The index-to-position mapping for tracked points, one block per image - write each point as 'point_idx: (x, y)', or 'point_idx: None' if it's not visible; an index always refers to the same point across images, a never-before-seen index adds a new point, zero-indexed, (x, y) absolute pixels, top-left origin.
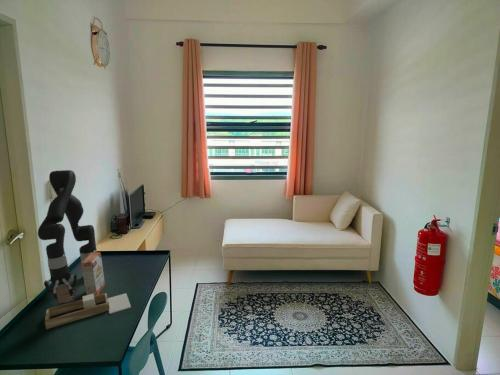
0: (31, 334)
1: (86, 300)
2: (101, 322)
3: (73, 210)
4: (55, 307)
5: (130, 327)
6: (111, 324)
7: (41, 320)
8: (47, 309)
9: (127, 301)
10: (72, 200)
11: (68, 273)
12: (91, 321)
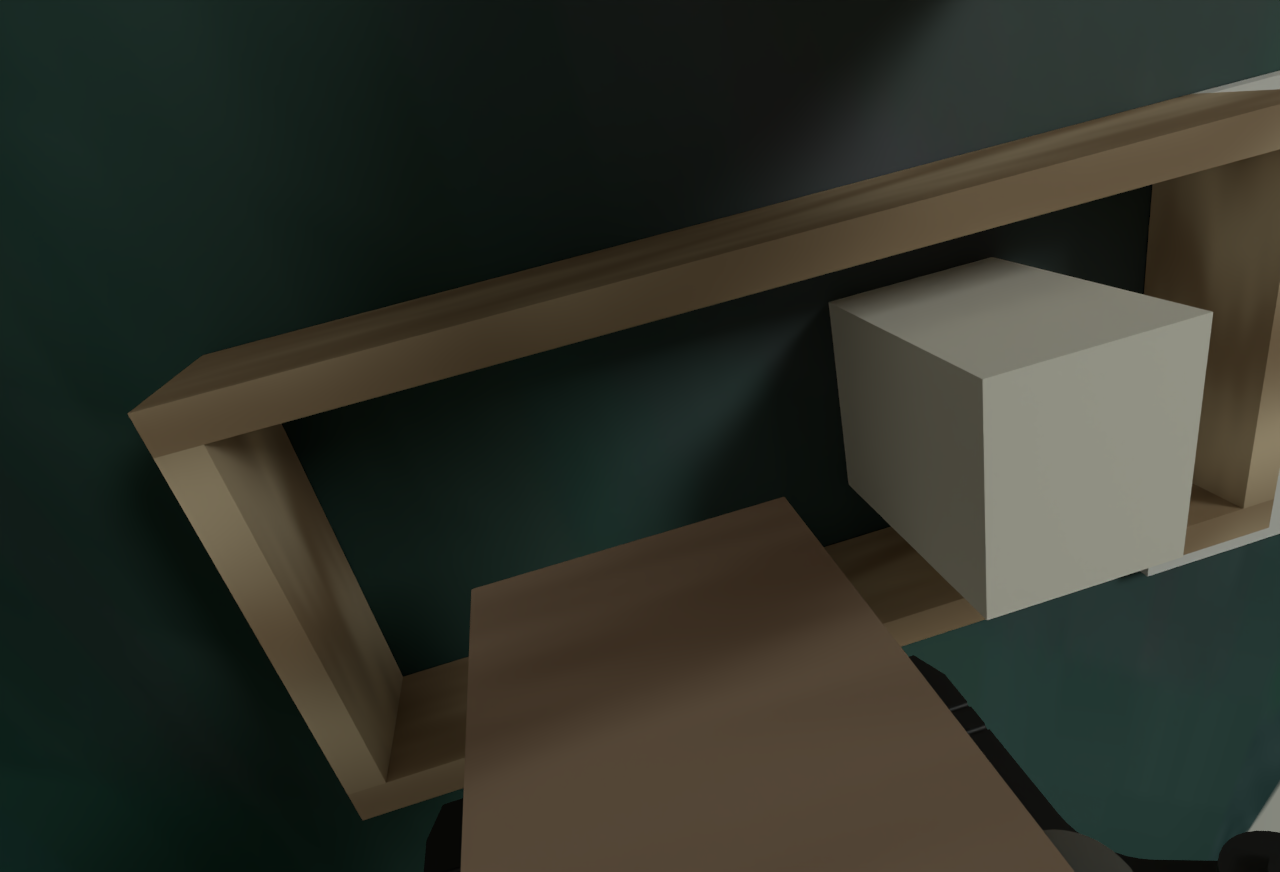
0: (209, 774)
1: (1048, 588)
2: (1031, 699)
3: None
4: (336, 398)
5: (1241, 812)
6: (1114, 748)
7: (135, 453)
8: (161, 433)
9: None
10: None
11: None
12: (932, 659)
